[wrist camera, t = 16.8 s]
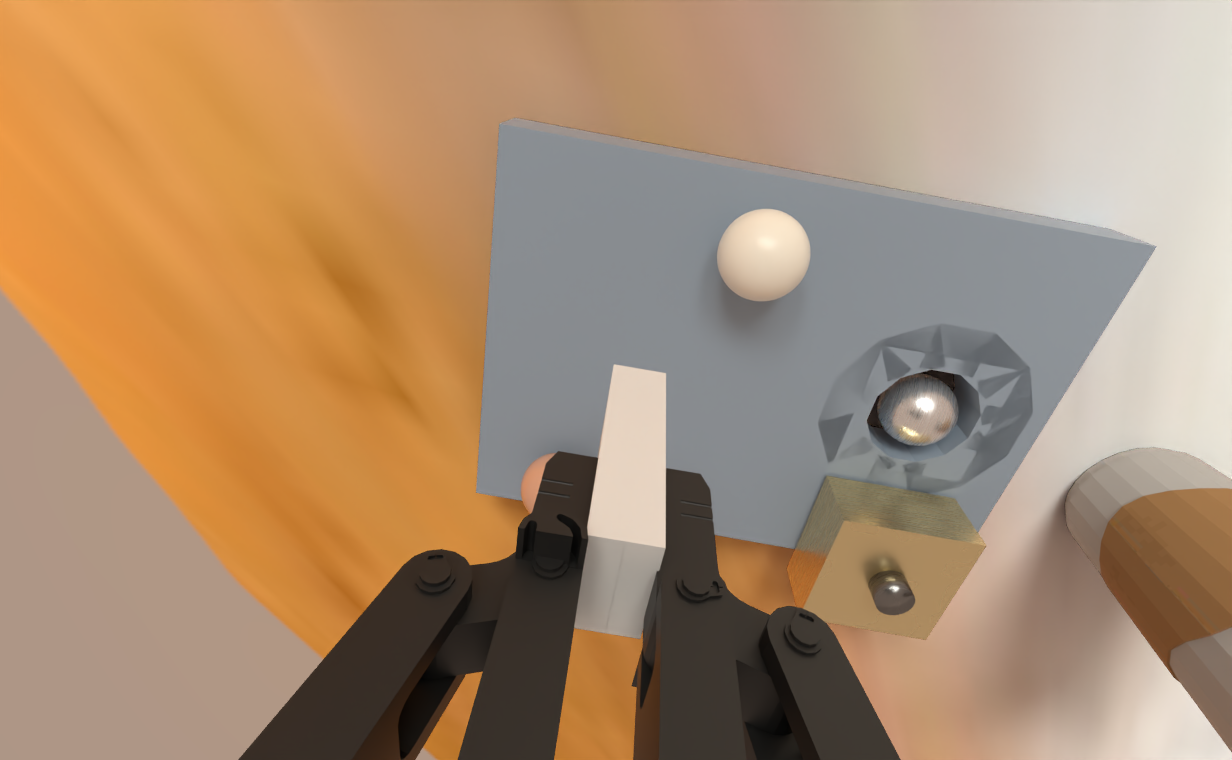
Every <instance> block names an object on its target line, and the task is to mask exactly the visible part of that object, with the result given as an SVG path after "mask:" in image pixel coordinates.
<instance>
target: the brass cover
mask: <svg viewBox="0 0 1232 760" xmlns="http://www.w3.org/2000/svg"><path fill="white" fill-rule="evenodd" d="M985 547H986V544H985V543H984V541H983V540H982V538H981V537H980V535H979V534H978V532H977V531H976V529H975V528H974V526H973V525H972V523H971V522H970V520H969V519H968V517H967V516H966V514H965V513H964V511H963V510H962V508H961V507H960V505H959V504H958V502H957V501H956V499H955V498H950V497H945V496H939V495H933V494H928V493H922V492H917V491H911V490H905V489H900V488H894V487H889V486H883V485H878V484H872V483H866V482H861V481H855V480H850V479H844V478H838V477H833V476H826V478H825V480H824V483H823V485H822V487H821V490H820V492H819V494H818V497H817V499H816V501H815V504H814V506H813V508H812V511H811V513H810V515H809V518H808V520H807V522H806V525H805V527H804V529H803V532H802V534H801V536H800V539H799V541H798V543H797V546H796V548H795V550H794V553H793V555H792V557H791V560H790V562H789V564H788V566H787V572H788V576H789V580H790V584H791V588H792V592H793V596H794V600H795V605H796V607H799V608H803V609H805V610H807V611H810V612H812V613H814V614H815V615H817V616H818V617H819V618H820V619H822V620H823V621H824V622H826V623H832V624H838V625H844V626H849V627H855V628H861V629H866V630H872V631H878V632H884V633H889V634H895V635H901V636H906V637H912V638H918V639H923V640H926V639H927V637H928V636H929V634H930V633H931V631H932V629H933V628H934V626H935V625H936V623H937V622H938V620H939V619H940V617H941V615H942V614H943V612H944V611H945V609H946V608H947V606H948V605H949V603H950V601H951V600H952V598H953V597H954V595H955V594H956V592H957V591H958V589H959V588H960V586H961V584H962V583H963V581H964V580H965V578H966V577H967V575H968V574H969V572H970V570H971V569H972V567H973V566H974V564H975V563H976V561H977V560H978V558H979V556H980V555H981V553H982V552H983V550H984V549H985Z"/></svg>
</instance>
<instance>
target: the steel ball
mask: <svg viewBox="0 0 1232 760" xmlns="http://www.w3.org/2000/svg"><path fill="white" fill-rule="evenodd" d="M877 412H878V417H879V420H880V423H881V425H882V426H883V428H884V429H885V431H886V432H887V433H888V434H889V435H890V436H891V437H893V438H894V439H896V440H898V441H899V442H902V443H904V444H908V445H914V446H924V445H930V444H933V443H936V442H938V441H940V440H942V439H943V438H945V437H946V436H947V435H948V434H949V433H950V432H951V431H952V429H953V428H954V426H955V424H956V422H957V419H958V413H959V409H958V403H957V399H956V397H955V395H954V393H953V391H952V390H951V389H950V388H949V387H948V386H947V385H946V384H945V383H944V382H943V381H941V380H939V379H938V378H936V377H933V376H930V375H926V374H913V375H910V376H906V377H902V378H900V379H899V380H898V381H896V382H895V383H894V384H893V385H891V386H890V387H889V388H888V389H886V390H885V391H884V392H882V393H881V395H880V397H879V400H878V406H877Z"/></svg>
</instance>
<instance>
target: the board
mask: <svg viewBox="0 0 1232 760" xmlns="http://www.w3.org/2000/svg"><path fill="white" fill-rule="evenodd" d="M758 209H774V210H779V211H782V212H784V213H787V214H788V215H790V216H792V217H793V218H794V219H795V220H797V221H798V222H799V223H800V225H801V226H802V227H803V229H804V230H805V232H806V234H807V237H808V240H809V243H810V262H809V266H808V269H807V272H806V274H805V276H804V277H803V279H802V280H801V282H800V283H799V284H798V285H797V286H796V288H794V289H793V290H792V291H791V292H789V293H788V294H786V295H785V296H783V297H781V298H778V299H775V300H771V301H752V300H748V299H745V298H743V297H741V296H739V295H737V294H736V293H734V292H733V291H732V290H731V289H730V288H729V287H728V286H727V285H726V284H725V282H724V281H723V279H722V277H721V275H720V272H719V269H718V264H717V251H718V246H719V242H720V240H721V238H722V235H723V234H724V232H725V230H726V229H727V228H728V226H729V225H730V224H731V223H732V222H733V221H734V220H736V219H737V218H738V217H740V216H741V215H743V214H745V213H748V212H750V211H753V210H758ZM1156 247H1157V246H1154V245H1151V244H1149V243H1146V242H1143V241H1141V240H1138V239H1135V238H1133V237H1130V236H1127V235H1125V234H1122V233H1119V232H1116V231H1114V230H1111V229H1107V228H1101V227H1096V226H1091V225H1085V224H1080V223H1075V222H1069V221H1064V220H1059V219H1053V218H1048V217H1043V216H1037V215H1032V214H1027V213H1021V212H1016V211H1011V210H1005V209H1000V208H995V207H989V206H984V205H979V204H973V203H968V202H963V201H957V200H952V199H947V198H941V197H936V196H931V195H925V194H920V193H914V192H909V191H904V190H898V189H893V188H888V187H882V186H877V185H872V184H866V183H861V182H856V181H850V180H845V179H840V178H834V177H829V176H824V175H818V174H813V173H808V172H802V171H797V170H792V169H786V168H781V167H776V166H770V165H765V164H760V163H754V162H749V161H744V160H738V159H733V158H728V157H722V156H717V155H712V154H706V153H701V152H696V151H690V150H685V149H680V148H674V147H669V146H664V145H658V144H653V143H648V142H642V141H637V140H632V139H626V138H621V137H616V136H610V135H605V134H600V133H594V132H589V131H583V130H578V129H573V128H567V127H562V126H557V125H551V124H546V123H541V122H535V121H530V120H525V119H519V118H513V119H510V120H508V121H505V122H502V123H500V124H499V139H498V155H497V170H496V186H495V202H494V218H493V234H492V250H491V266H490V281H489V297H488V313H487V329H486V345H485V361H484V377H483V392H482V408H481V424H480V440H479V456H478V472H477V488H476V493H481V494H486V495H492V496H498V497H503V498H509V499H514V500H520V501H522V497H521V482H522V478H523V475H524V473H525V471H526V470H527V468H528V467H529V466H530V464H531V463H533V462H534V461H535V460H536V459H538V458H539V457H541V456H543V455H546V454H550V453H557V452H558V451H561V452H567V453H573V454H579V455H585V456H591V457H597V458H598V452H599V446H600V440H601V435H602V429H603V423H604V417H605V412H606V406H607V400H608V395H609V389H610V383H611V377H612V372H613V366H614V364H615V365H621V366H627V367H633V368H638V369H644V370H650V371H656V372H662V373H666V468H670V469H675V470H681V471H687V472H693V473H699V474H701V475H702V477H703V478H704V480H705V482H706V483H707V485H708V486H709V488H710V492H711V502H712V507H711V508H712V513H713V523H714V534H715V535H718V536H724V537H729V538H735V539H740V540H746V541H752V542H757V543H763V544H769V545H774V546H780V547H786V548H791V549H795V548H796V546H797V543H798V541H799V539H800V536H801V534H802V532H803V529H804V527H805V525H806V522H807V520H808V518H809V515H810V513H811V511H812V508H813V506H814V504H815V501H816V499H817V497H818V494H819V492H820V490H821V487H822V485H823V483H824V480H825V478H826V476H833V477H838V478H844V479H850V480H855V481H861V482H866V483H872V484H878V485H883V486H889V487H894V488H900V489H905V490H911V491H917V492H922V493H928V494H933V495H939V496H945V497H950V498H955V499H956V501H957V502H958V504H959V505H960V507H961V508H962V510H963V511H964V513H965V514H966V516H967V517H968V519H969V520H970V522H971V523H972V525H973V526H974V528H975V529H976V531H977V532H978V531H979V530H980V528H981V527H982V525H983V523H984V522H985V520H986V519H987V517H988V515H989V514H990V512H991V511H992V509H993V507H994V506H995V504H996V503H997V501H998V499H999V498H1000V496H1001V495H1002V493H1003V491H1004V490H1005V488H1006V487H1007V485H1008V483H1009V482H1010V480H1011V479H1012V477H1013V475H1014V474H1015V472H1016V471H1017V469H1018V467H1019V466H1020V464H1021V463H1022V461H1023V459H1024V458H1025V456H1026V455H1027V453H1028V451H1029V450H1030V448H1031V447H1032V445H1033V443H1034V442H1035V440H1036V439H1037V437H1038V435H1039V434H1040V432H1041V431H1042V429H1043V427H1044V426H1045V424H1046V423H1047V421H1048V419H1049V418H1050V416H1051V415H1052V413H1053V411H1054V410H1055V408H1056V407H1057V405H1058V403H1059V402H1060V400H1061V399H1062V397H1063V395H1064V394H1065V392H1066V391H1067V389H1068V387H1069V386H1070V384H1071V383H1072V381H1073V379H1074V378H1075V376H1076V375H1077V373H1078V371H1079V370H1080V368H1081V367H1082V365H1083V363H1084V362H1085V360H1086V359H1087V357H1088V355H1089V354H1090V352H1091V351H1092V349H1093V347H1094V346H1095V344H1096V343H1097V341H1098V339H1099V338H1100V336H1101V335H1102V333H1103V331H1104V330H1105V328H1106V327H1107V325H1108V323H1109V322H1110V320H1111V319H1112V317H1113V315H1114V314H1115V312H1116V311H1117V309H1118V307H1119V306H1120V304H1121V303H1122V301H1123V299H1124V298H1125V296H1126V295H1127V293H1128V291H1129V290H1130V288H1131V287H1132V285H1133V283H1134V282H1135V280H1136V279H1137V277H1138V275H1139V274H1140V272H1141V271H1142V269H1143V267H1144V266H1145V264H1146V263H1147V261H1148V259H1149V258H1150V256H1151V255H1152V253H1153V251H1154V250H1155V248H1156ZM928 370H936V371H942V372H947V373H953V374H954V381H955V388H954V390H953V393H954V395H955V397H956V399H957V403H958V409H959V413H958V419H957V422H956V424H955V426H954V428H953V429H952V431H951V432H950V433H949V434H948V435H947V436H946V437H945V438H943V439H942V440H940V441H938V442H936V443H933V444H930V445H924V446H914V445H908V444H904V443H902V442H899V441H898V440H896V439H894V438H893V437H891V436H890V435H889V434H888V433H887V432H886V431H885V429H882V428H876V427H872V426H870V425H869V424H868V423H867V419H868V416H869V414H870V412H871V410H872V407H873V405H874V403H875V401H876V398H877V396H879V395H880V394H881V393H882V392H884V391H885V390H886V389H888V388H889V387H890V386H891V385H893V384H894V383H895V382H896V381H898V380H899V379H900V378H902V377H906V376H910V375H913V374H917V373H921V372H925V371H928Z"/></svg>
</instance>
